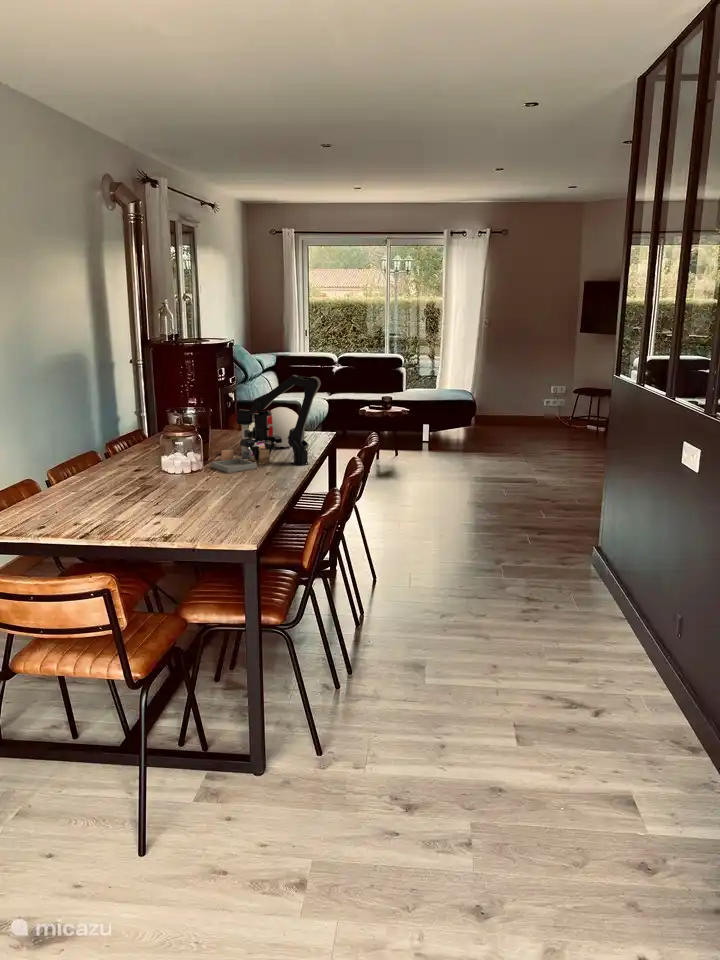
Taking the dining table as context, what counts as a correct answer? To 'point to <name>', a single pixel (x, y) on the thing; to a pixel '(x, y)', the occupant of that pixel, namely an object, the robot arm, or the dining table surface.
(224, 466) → the charcoal tray
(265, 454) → the walnut block
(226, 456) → the tan block
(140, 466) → the dining table surface
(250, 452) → the steel cylinder
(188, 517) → the dining table surface
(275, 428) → the decorative sphere
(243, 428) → the candy bar box
